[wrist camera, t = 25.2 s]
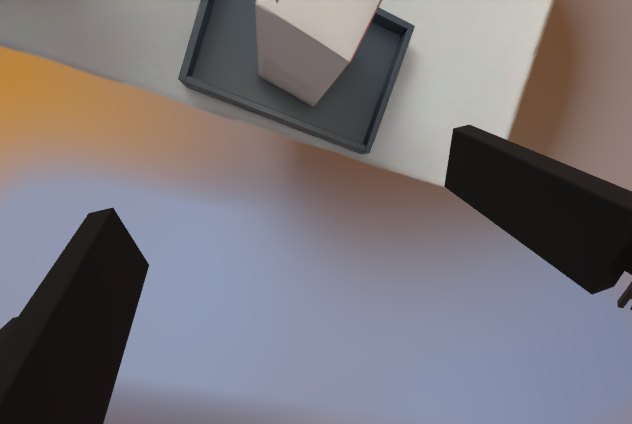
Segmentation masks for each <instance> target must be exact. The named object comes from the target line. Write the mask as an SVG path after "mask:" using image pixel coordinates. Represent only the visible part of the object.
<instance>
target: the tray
mask: <svg viewBox="0 0 632 424" xmlns="http://www.w3.org/2000/svg"><path fill="white" fill-rule="evenodd" d="M255 2H256V0H201V2H200V6H199V9H198V13H197V16H196V19H195V23H194V26H193V30H192V33H191V37H190V40H189V43H188V47H187V50H186V54H185V57H184V61H183V64H182V68H181V71H180V74H179V78H178V79H179V80H180V81H181V82H182V83H183V84H184V85H185V86H186V87H189V88H191V89H194V90H197V91H199V92H202V93H204V94H207V95H210V96H212V97H215V98H218V99H220V100H223V101H225V102H228V103H231V104H233V105H236V106H238V107H241V108H244V109H246V110H249V111H251V112H254V113H257V114H259V115H262V116H264V117H267V118H270V119H272V120H275V121H277V122H280V123H283V124H285V125H288V126H290V127H293V128H296V129H298V130H301V131H303V132H306V133H309V134H311V135H314V136H316V137H319V138H322V139H324V140H327V141H330V142H332V143H335V144H337V145H340V146H343V147H345V148H348V149H350V150H353V151H356V152H358V153H361V154H366V153H370V151H371V148H372V145H373V142H374V140H375V137H376V134H377V131H378V128H379V125H380V123H381V120H382V117H383V114H384V111H385V109H386V106H387V103H388V100H389V97H390V94H391V92H392V89H393V86H394V83H395V80H396V78H397V75H398V72H399V69H400V66H401V63H402V61H403V58H404V55H405V52H406V49H407V47H408V44H409V41H410V38H411V35H412V32H413V30H414V27H415V26H414V25H412V24H409V23H408V22H406V21H404V20H402V19H400V18H398V17H396V16H394V15H392V14H390V13H388V12H386V11H384V10H382V9H381V8H379V7H378V9H377V11H376V13H375V15H374V17H373V19H372V21H371V24H370V26H369V28H368V30H367V32H366V34H365V36H364V38H363V40H362V42H361V44H360V46H359V48H358V50H357V52H356V54H355V56H354V58H353V59H352V61H351V63H350V64H349V65H348V66H347V67H346V68H345V69H344V71H343V72H342V73H341V74H340V75H339V77H338V78H337V79H336V80H335V82H334V83H333V84H332V85H331V86H330V88H329V89H328V90H327V91H326V93H325V94H324V95H323V96H322V97H321V99H320V100H319V101H318V103H317V104H316V105H315V106H314V107H311V106H310V105H308V104H306V103H304V102H303V101H301V100H299V99H298V98H296V97H294V96H293V95H291V94H289V93H287V92H286V91H284V90H282V89H280V88H279V87H277V86H275V85H273V84H272V83H270V82H268V81H266V80H265V79H263V78H261V77H259V76H258V54H257V34H256V9H255Z"/></svg>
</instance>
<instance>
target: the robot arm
mask: <svg viewBox="0 0 632 424" xmlns="http://www.w3.org/2000/svg"><path fill="white" fill-rule="evenodd" d="M445 187H446V188H447V189H449V190H450V191H451V192H453V193H454V194H455V195H457V196H458V197H459V198H461V199H462V200H464V201H465V202H466V203H468V204H469V205H470V206H472V207H473V208H474V209H476V210H477V211H479V212H480V213H481V214H483V215H484V216H486V217H487V218H488V219H490V220H491V221H493V222H494V223H495V224H496V225H498V226H499V227H500V228H502V229H503V230H505V231H506V232H507V233H509V234H510V235H511V236H513V237H514V238H515V239H517V240H518V241H519V242H521V243H522V244H524V245H525V246H526V247H528V248H529V249H530V250H532V251H533V252H535V253H536V254H538V255H539V256H540V257H541V258H543V259H544V260H545V261H547V262H548V263H550V264H551V265H553V266H554V267H555V268H557V269H558V270H559V271H560V272H562V273H563V274H565V275H566V276H567V277H569V278H570V279H572V280H573V281H574V282H576V283H577V284H578V285H580V286H581V287H582V288H584V289H585V290H587V291H588V292H589V293H590V294H595V293H598V292H600V291H603V290H606V289H609V288H611V287H614V286H615V284H616V283H617V281H618V280H619V278H620V277H621V275H622V274H623V272H624V271H626V272H628V273H629V274H631V275H632V191H629V190H627V189H624V188H622V187H619V186H617V185H615V184H612V183H610V182H607V181H605V180H602V179H600V178H597V177H595V176H593V175H590V174H587V173H585V172H583V171H581V170H578V169H576V168H573V167H571V166H568V165H566V164H564V163H561V162H559V161H556V160H554V159H552V158H549V157H547V156H544V155H541V154H539V153H537V152H535V151H532V150H530V149H527V148H525V147H522V146H520V145H518V144H515V143H512V142H510V141H508V140H505V139H503V138H501V137H498V136H496V135H493V134H491V133H488V132H486V131H484V130H481V129H479V128H476V127H474V126H471V125H466V126H462V127H458V128H454V129H453V134H452V140H451V147H450V154H449V160H448V167H447V173H446V180H445ZM148 267H149V264H148V263H147V261H146V259H145V258H144V256H143V255H142V253H141V252H140V250H139V248H138V247H137V245H136V244H135V242H134V240H133V239H132V237H131V236H130V234H129V233H128V231H127V229H126V228H125V226H124V224H123V223H122V222H121V220H120V218H119V216H118V215H117V213H116V212H115V210H114V208H109V209H105V210H101V211H97V212H92V213H89V214H88V215H87V217H86V218H85V220H84V221H83V223H82V224H81V226H80V227H79V228H78V230H77V232H76V233H75V234H74V236H73V237H72V239H71V240H70V242H69V243H68V245H67V246H66V248H65V249H64V250H63V252H62V254H61V255H60V257H59V258H58V259H57V261H56V262H55V264H54V265H53V267H52V268H51V270H50V271H49V272H48V274H47V275H46V277H45V278H44V280H43V281H42V283H41V284H40V286H39V287H38V289H37V290H36V292H35V293H34V295H33V296H32V297H31V299H30V300H29V302H28V303H27V305H26V306H25V308H24V309H23V311H22V312H21V314H20V315H19V316H18V317H15V318H12V319H11V320H10V321H9V322H8V323H7V324H6V325H5V326H4V327H2V328H1V329H0V424H103V423H104V419H105V415H106V412H107V409H108V405H109V401H110V398H111V395H112V392H113V388H114V384H115V381H116V378H117V374H118V371H119V367H120V364H121V360H122V357H123V353H124V350H125V346H126V343H127V340H128V336H129V333H130V329H131V326H132V322H133V319H134V315H135V312H136V308H137V305H138V302H139V298H140V295H141V291H142V287H143V284H144V281H145V277H146V274H147V270H148ZM630 299H632V282H631V283H630V285H629V286H628V287H627V289H626V290H625V292H624V293H623V294H622V296H621V297H620V298H619V300H618V301H617V302H618V307H620V308H624V306H625V305H626V304H627V302H628V301H629V300H630ZM630 309H631V310H632V307H631V308H630Z"/></svg>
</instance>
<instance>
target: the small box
mask: <svg viewBox="0 0 632 424" xmlns="http://www.w3.org/2000/svg"><path fill="white" fill-rule="evenodd" d="M381 1H382V0H256V2H255V9H256V34H257V54H258V76H259V77H261V78H263V79H265V80H266V81H268V82H270V83H272V84H273V85H275V86H277V87H279V88H280V89H282V90H284V91H286V92H287V93H289V94H291V95H293V96H294V97H296V98H298V99H299V100H301V101H303V102H304V103H306V104H308V105H310V106H311V107H314V106H315V105H316V104H317V103H318V101H319V100H320V99H321V97H322V96H323V95H324V94H325V93H326V91H327V90H328V89H329V88H330V86H331V85H332V84H333V83H334V82H335V80H336V79H337V78H338V77H339V75H340V74H341V73H342V72H343V71H344V69H345V68H346V67H347V66H348V65H349V64H350V63H351V61H352V59H353V58H354V56H355V54H356V52H357V50H358V48H359V46H360V44H361V42H362V40H363V38H364V36H365V34H366V32H367V30H368V28H369V26H370V24H371V21H372V19H373V17H374V15H375V13H376V11H377V9H378V7H379V5H380V3H381Z"/></svg>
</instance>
